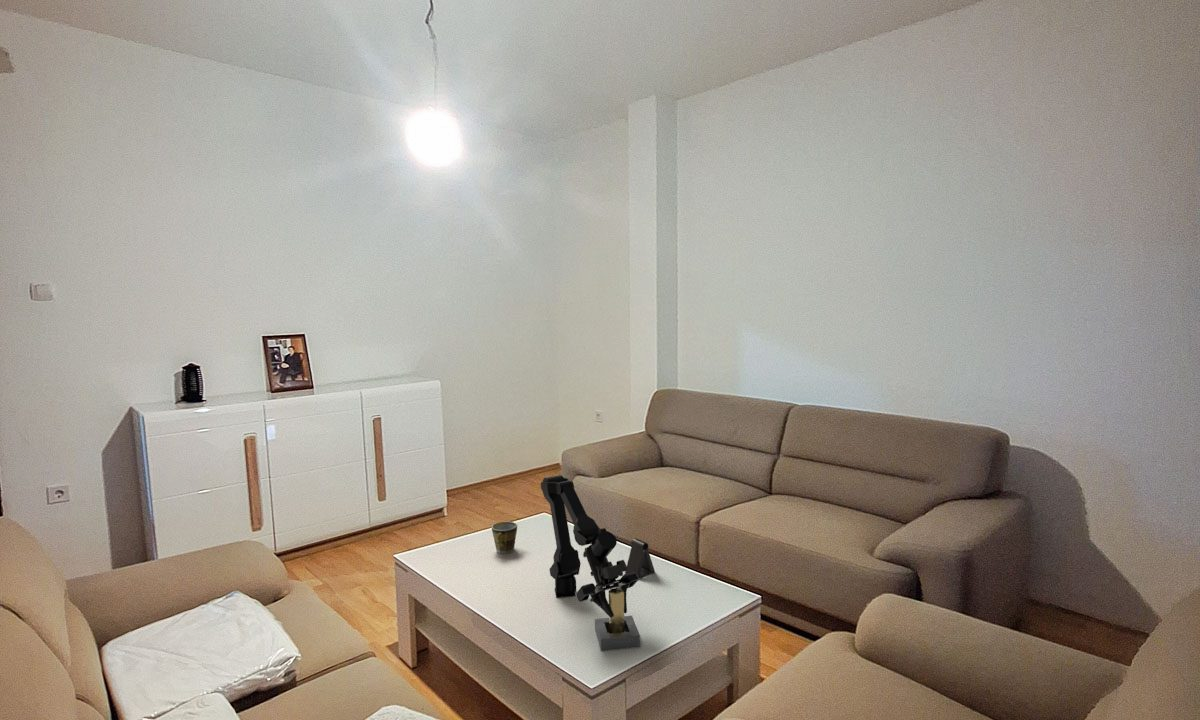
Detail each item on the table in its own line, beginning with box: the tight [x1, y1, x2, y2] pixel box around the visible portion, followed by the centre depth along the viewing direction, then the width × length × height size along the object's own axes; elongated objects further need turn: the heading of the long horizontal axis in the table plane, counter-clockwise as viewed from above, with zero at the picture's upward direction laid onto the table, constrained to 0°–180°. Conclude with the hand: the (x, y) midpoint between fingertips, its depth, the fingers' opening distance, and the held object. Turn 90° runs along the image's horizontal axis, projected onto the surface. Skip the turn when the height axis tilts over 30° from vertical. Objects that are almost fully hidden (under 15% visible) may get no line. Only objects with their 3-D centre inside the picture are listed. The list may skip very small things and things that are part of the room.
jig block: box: [594, 615, 641, 652], centre depth 180 cm, size 11×11×4 cm
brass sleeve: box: [608, 588, 625, 634], centre depth 179 cm, size 4×4×13 cm
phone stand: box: [624, 537, 656, 579], centre depth 222 cm, size 9×6×12 cm, turn 127°
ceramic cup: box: [491, 520, 518, 555], centre depth 243 cm, size 13×10×10 cm
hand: (618, 615), depth 178 cm, fingers closed on brass sleeve, 4 cm apart
